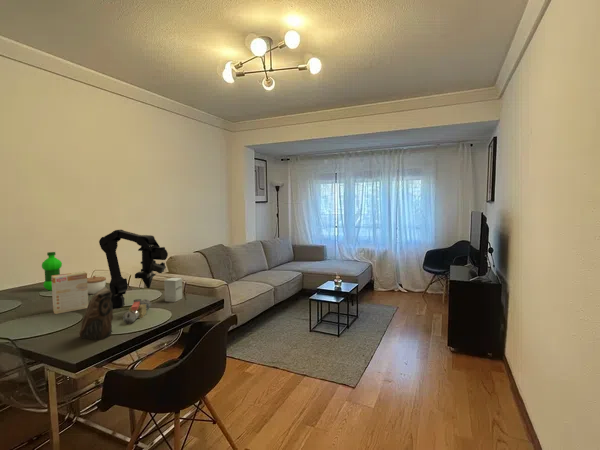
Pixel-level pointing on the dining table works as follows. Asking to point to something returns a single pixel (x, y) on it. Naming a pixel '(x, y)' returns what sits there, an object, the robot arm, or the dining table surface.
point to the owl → (98, 316)
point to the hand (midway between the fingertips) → (148, 287)
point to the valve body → (136, 312)
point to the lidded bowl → (95, 284)
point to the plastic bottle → (51, 269)
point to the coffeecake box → (69, 292)
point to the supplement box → (173, 289)
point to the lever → (136, 304)
